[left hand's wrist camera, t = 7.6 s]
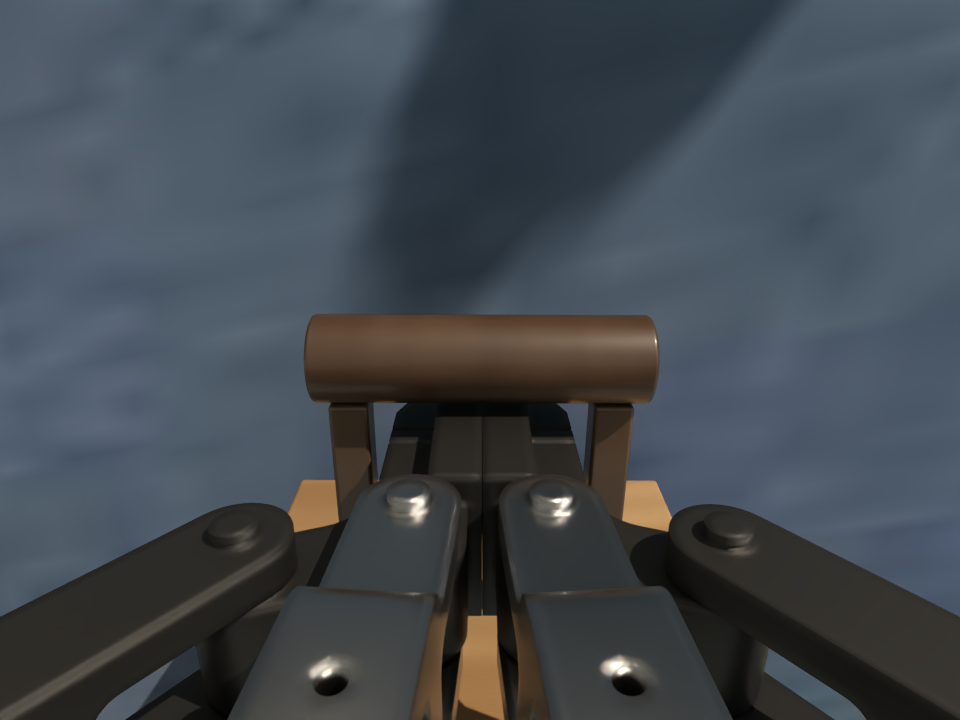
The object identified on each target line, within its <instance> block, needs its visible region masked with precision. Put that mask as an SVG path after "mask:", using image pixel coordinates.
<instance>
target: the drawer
mask: <svg viewBox="0 0 960 720" xmlns="http://www.w3.org/2000/svg"><path fill="white" fill-rule="evenodd" d="M304 373H305V381H306V386H307V390H308V393H309V396H310V398H311V399H312V400H313V401H315V402H322V403H331V404H330V406H329V409H328V410H329V421H330V432H331V442H332V453H333V464H334V475H335V480H302V481H301V483H300V485H299V488H298V490H297V492H296V495H295V497H294V499H293V502H292V504H291V506H290V508H289V511H288V515H289V516H290V517H291V519H292V521H293V525H294V532H299V531H303V530H308V529H313V528H318V527H323V526H327V525H331V524H335V523H338V522H341V521H343V520H346V519H348V518H349V517H350V514H351V512H352V510H353V508H354V505H355V503H356V501H357V499H358V497H359V495H360V494H361V493H362V492H363V491H364V490H365V489H366V488H367V487H369V486H370V485H372V484H374V483H375V482H377V481H379V480H378V474H377V458H376V442H375V427H374V411H373V403H589V407H588V420H587V433H586V446H585V459H584V472H583V474H584V478H585V481H586V484H588V485H590V486H591V487H593V488H594V489H595V490H596V491H597V492H598V493H599V494H600V496H601V497H602V499H603V501H604V503H605V506H606V508H607V510H608V512H609V514H610V515H611V516H613V517H615V518H617V519H620V520H622V521H625V522H628V523H631V524H634V525H639V526H643V527H648V528H653V529H658V530H663V531H668V529H669V523H670V521H671V519H672V517H671V515H670V513H669V510H668V508H667V506H666V503H665V501H664V499H663V496H662V494H661V492H660V490H659V487H658V485H657V483H656V482H655V481H627V471H628V462H629V452H630V443H631V433H632V424H633V415H634V408H633V406H632V404H631V403H637V404H646V403H648V402H650V401H651V400H652V398H653V396H654V393H655V390H656V386H657V381H658V374H659V344H658V337H657V332H656V328H655V325H654V322H653V320H652V319H651V318H650V317H649V316H646V315H436V314H316V315H314V316H312V317H311V319H310V321H309V324H308V327H307V331H306V337H305V345H304ZM456 720H504V714H503V706H502V698H501V691H500V683H499V675H498V668H497V616H468V631H467V638H466V641H465V643H464V645H463V667H462V675H461V683H460V690H459V698H458V706H457V713H456Z"/></svg>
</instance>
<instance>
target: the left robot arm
mask: <svg viewBox="0 0 960 720" xmlns="http://www.w3.org/2000/svg"><path fill="white" fill-rule="evenodd" d="M468 616H497V668H498V675H499V683H500V691H501V698H502V706H503V714H504V720H834V719H833V718H831V717H830V716H828V715H827V714H825V713H824V712H822V711H821V710H819V709H818V708H817V707H815V706H814V705H812V704H811V703H809V702H808V701H806V700H805V699H803V698H802V697H800V696H799V695H797V694H796V693H794V692H793V691H792V690H790V689H789V688H787V687H786V686H784V685H783V684H781V683H780V682H778V681H777V680H775V679H774V678H772V677H771V676H769V675H768V674H766V673H765V672H764V669H765V664H766V660H767V655H768V650H769V648H770V649H771V650H773V651H775V652H776V653H778V654H779V655H781V656H782V657H784V658H785V659H787V660H788V661H790V662H792V663H793V664H795V665H796V666H798V667H799V668H801V669H802V670H804V671H805V672H807V673H809V674H810V675H812V676H813V677H815V678H816V679H818V680H819V681H821V682H822V683H824V684H826V685H827V686H829V687H830V688H832V689H833V690H835V691H836V692H838V693H839V694H841V695H842V696H844V697H845V698H847V699H848V700H849V701H851V702H852V703H853V704H854V705H855V706H856V707H857V708H858V709H859V710H860V711H861V712H862V714H863V715H864V717H865V718H866V719H867V720H960V617H959V616H957V615H955V614H953V613H951V612H949V611H947V610H945V609H943V608H941V607H939V606H937V605H935V604H933V603H931V602H929V601H927V600H925V599H923V598H921V597H919V596H917V595H915V594H913V593H911V592H909V591H907V590H905V589H903V588H901V587H899V586H897V585H895V584H893V583H891V582H889V581H887V580H885V579H883V578H881V577H879V576H877V575H875V574H873V573H871V572H869V571H867V570H865V569H863V568H861V567H859V566H857V565H855V564H853V563H851V562H849V561H847V560H845V559H843V558H841V557H839V556H837V555H835V554H833V553H831V552H829V551H827V550H825V549H823V548H821V547H819V546H817V545H815V544H813V543H811V542H809V541H807V540H805V539H803V538H801V537H799V536H797V535H795V534H793V533H791V532H789V531H787V530H785V529H783V528H781V527H779V526H777V525H775V524H773V523H771V522H769V521H767V520H765V519H763V518H761V517H759V516H757V515H755V514H753V513H751V512H748V511H745V510H742V509H739V508H735V507H731V506H724V505H714V504H705V505H696V506H691V507H688V508H685V509H683V510H681V511H679V512H678V513H676V514H675V515H674V516H673V517H672V519H671V521H670V523H669V529H668V531H663V530H658V529H653V528H648V527H643V526H639V525H634V524H631V523H628V522H625V521H622V520H620V519H617V518H615V517H613V516H611V515H610V514H609V512H608V510H607V508H606V506H605V503H604V501H603V499H602V497H601V496H600V494H599V493H598V492H597V491H596V490H595V489H594V488H593V487H591V486H590V485H588V484H586V481H585V478H584V474H583V470H582V467H581V463H580V459H579V456H578V452H577V448H576V444H574V437H573V433H572V431H571V426H570V422H569V418H568V415H567V412H566V411H565V410H563V409H562V408H561V407H560V406H559V405H558V404H556V403H407V404H406V405H405V406H404V407H403V408H401V409H400V410H399V411H398V412H397V413H396V417H395V421H394V425H393V431H392V433H391V437H390V440H389V444H388V448H387V452H386V456H385V460H384V464H383V467H382V471H381V475H380V479H379V481H377V482H375V483H374V484H372V485H370V486H369V487H367V488H366V489H365V490H364V491H363V492H362V493H361V494H360V495H359V497H358V499H357V501H356V503H355V505H354V508H353V510H352V512H351V514H350V517H349V518H348V519H346V520H343V521H341V522H338V523H335V524H331V525H327V526H323V527H318V528H313V529H308V530H303V531H299V532H294V525H293V521H292V519H291V517H290V516H289V515H288V513H286V512H285V511H284V510H282V509H280V508H278V507H276V506H272V505H269V504H262V503H243V504H236V505H230V506H226V507H222V508H219V509H216V510H214V511H211V512H209V513H207V514H204V515H202V516H200V517H198V518H196V519H194V520H192V521H190V522H188V523H186V524H184V525H182V526H180V527H178V528H176V529H174V530H172V531H170V532H168V533H166V534H164V535H162V536H160V537H158V538H157V539H155V540H153V541H151V542H149V543H147V544H145V545H143V546H141V547H139V548H137V549H135V550H133V551H131V552H129V553H127V554H125V555H123V556H121V557H119V558H117V559H115V560H113V561H111V562H109V563H107V564H105V565H103V566H101V567H99V568H97V569H95V570H93V571H91V572H89V573H87V574H85V575H83V576H81V577H79V578H77V579H75V580H73V581H71V582H69V583H67V584H65V585H63V586H61V587H59V588H57V589H55V590H53V591H51V592H49V593H47V594H45V595H43V596H41V597H39V598H37V599H35V600H33V601H31V602H29V603H27V604H25V605H23V606H21V607H19V608H17V609H15V610H13V611H11V612H9V613H7V614H5V615H3V616H1V617H0V720H96V718H97V717H98V715H99V714H100V712H101V711H102V710H103V708H104V707H105V706H106V705H107V704H108V703H109V702H110V701H111V700H113V699H114V698H115V697H116V696H118V695H119V694H120V693H122V692H123V691H125V690H127V689H128V688H130V687H131V686H133V685H134V684H136V683H137V682H139V681H140V680H142V679H144V678H145V677H147V676H148V675H150V674H151V673H153V672H154V671H156V670H157V669H159V668H161V667H162V666H164V665H165V664H167V663H168V662H170V661H171V660H173V659H174V658H176V657H177V656H179V655H181V654H182V653H184V652H185V651H187V650H188V649H190V648H191V647H193V646H194V645H196V649H197V654H198V659H199V664H200V669H199V670H198V671H196V672H195V673H193V674H192V675H190V676H189V677H187V678H186V679H184V680H183V681H182V682H180V683H179V684H177V685H176V686H174V687H173V688H171V689H170V690H168V691H167V692H165V693H164V694H162V695H161V696H159V697H158V698H157V699H155V700H154V701H152V702H151V703H149V704H148V705H146V706H145V707H143V708H142V709H140V710H139V711H137V712H136V713H134V714H133V715H132V716H130V717H129V718H127V719H126V720H456V713H457V706H458V698H459V690H460V683H461V675H462V667H463V645H464V643H465V641H466V638H467V631H468Z"/></svg>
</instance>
